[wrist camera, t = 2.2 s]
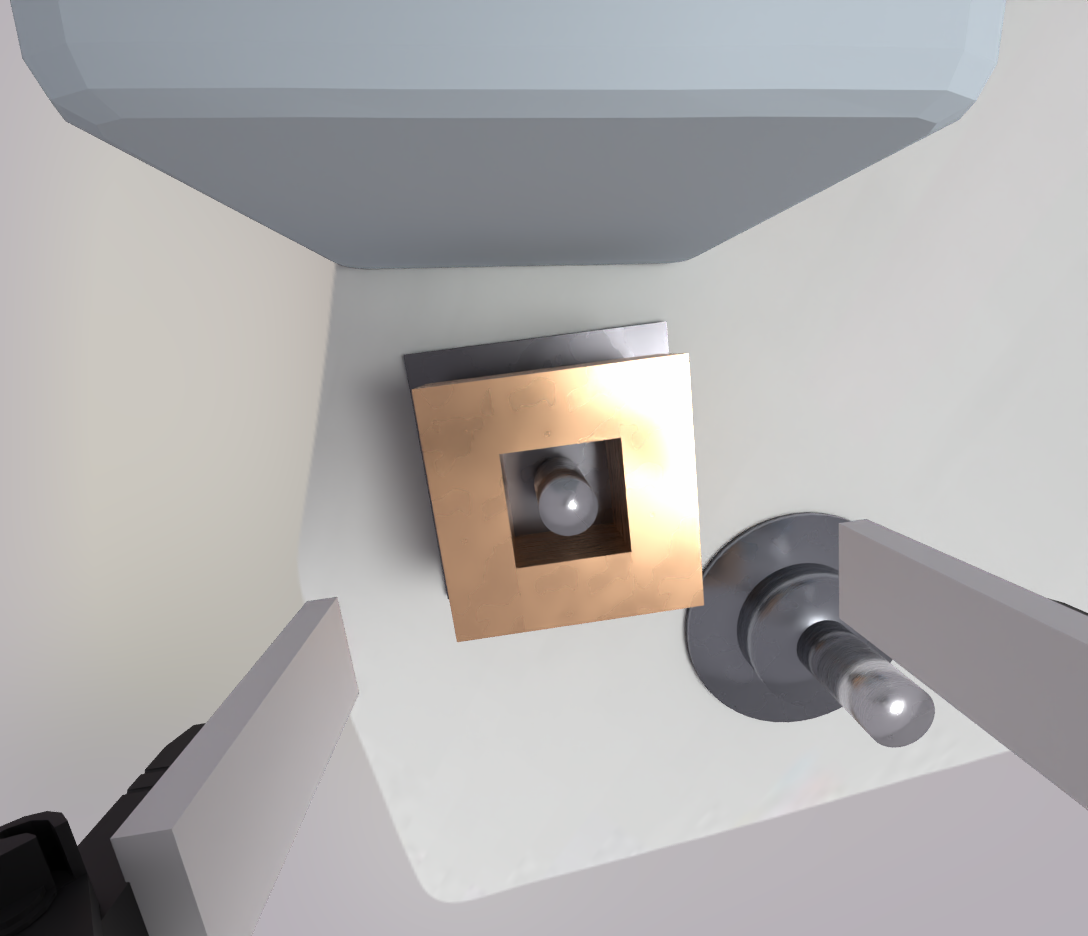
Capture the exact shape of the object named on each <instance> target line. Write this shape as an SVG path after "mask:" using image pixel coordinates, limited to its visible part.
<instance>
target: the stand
mask: <svg viewBox="0 0 1088 936" xmlns="http://www.w3.org/2000/svg"><path fill="white" fill-rule="evenodd" d="M653 354H669V347H668V333H667V321H666V322H658V323H651V324H643V325H635V326H627V327H619V328H611V329H604V330H596V331H588V332H580V333H572V334H564V335H557V336H549V337H541V338H533V339H525V340H517V341H510V342H502V343H494V344H486V345H478V346H470V347H462V348H455V349H447V350H439V351H431V352H423V353H415V354H408V355H404V359H405V364H406V370H407V375H408V381H409V387H410V392H411V398H412V403H413V409H414V414H415V420H416V425H417V431H418V436H419V442H420V447H421V453H422V458H423V464H424V469H425V475H426V480H427V486H428V491H429V497H430V502H431V508H432V513H433V519H434V524H435V530H436V535H437V541H438V547H439V552H440V558H441V563H442V569H443V574H444V580H445V585H446V591H447V596H448V599H449V595H448V589H447V584H446V578H445V572H444V567H443V561H442V556H441V550H440V545H439V539H438V534H437V528H436V523H435V517H434V512H433V506H432V501H431V495H430V489H429V484H428V478H427V473H426V467H425V462H424V456H423V451H422V445H421V440H420V434H419V429H418V423H417V417H416V412H415V406H414V401H413V395H412V389H414V388H417V387H420V386H423V385H425V384H429V383H437V382H445V381H453V380H460V379H468V378H476V377H483V376H491V375H499V374H506V373H514V372H522V371H530V370H537V369H545V368H553V367H560V366H568V365H576V364H583V363H591V362H599V361H607V360H614V359H622V358H630V357H637V356H645V355H653ZM503 458H504V465H505V472H506V479H507V486H508V493H509V499H510V506H511V513H512V520H513V527H514V534H515V536H521V535H528V534H535V533H542V532H549V531H552V532H554V533H556V534H559V535H563V536H573V535H577V534H580V533H582V532H584V531H585V530H587V529H588V528H589V527H590V526H592V525H599V524H606V523H613V514H612V504H611V494H610V485H609V475H608V465H607V455H606V445H605V440H600V441H593V442H585V443H578V444H571V445H563V446H556V447H549V448H541V449H534V450H526V451H519V452H512V453H504V454H503Z"/></svg>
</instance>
